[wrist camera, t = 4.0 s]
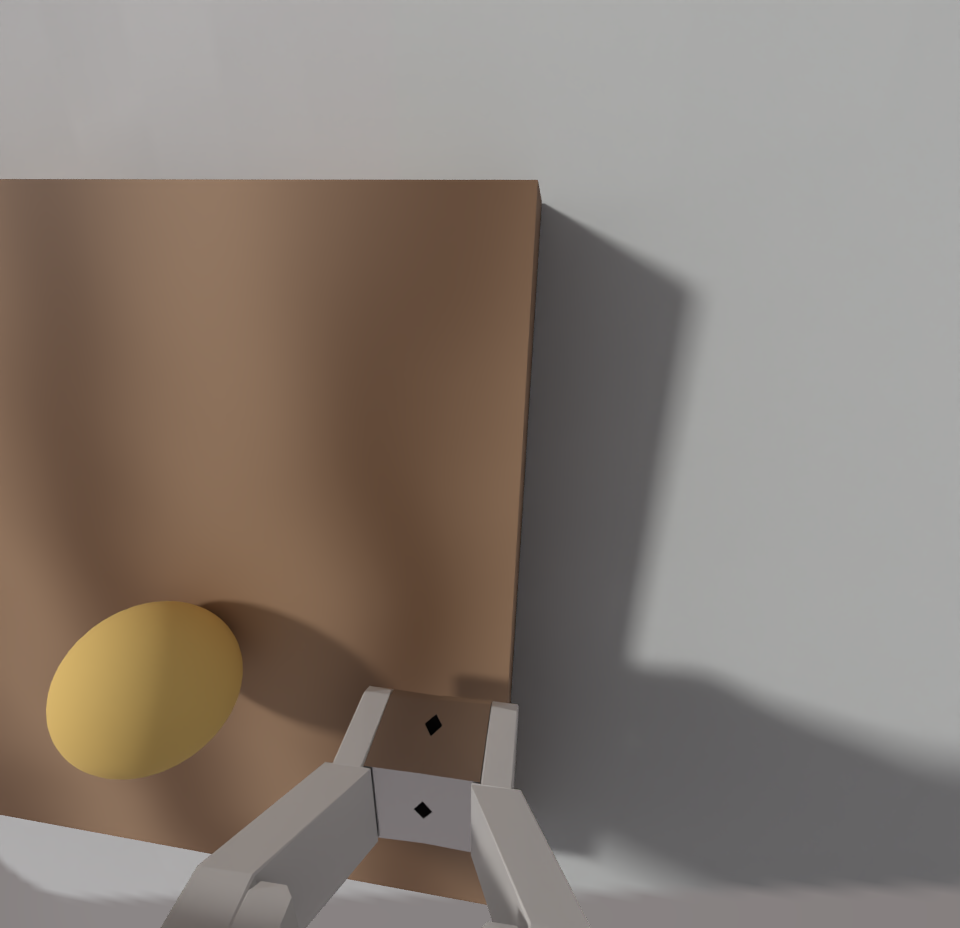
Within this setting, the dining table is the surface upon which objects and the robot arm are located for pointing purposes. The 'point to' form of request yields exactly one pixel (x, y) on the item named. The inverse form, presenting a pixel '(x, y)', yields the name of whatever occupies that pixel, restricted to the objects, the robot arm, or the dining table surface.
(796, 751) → the dining table surface
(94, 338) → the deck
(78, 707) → the ball
